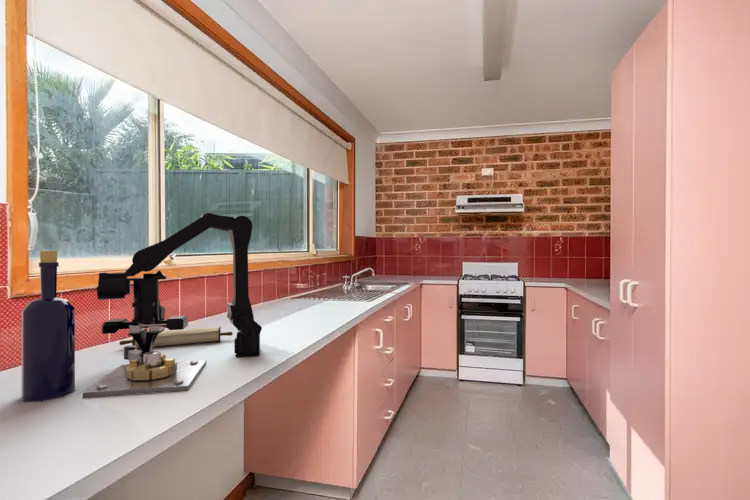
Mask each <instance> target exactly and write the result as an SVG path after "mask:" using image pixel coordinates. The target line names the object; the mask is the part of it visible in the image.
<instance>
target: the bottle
mask: <svg viewBox="0 0 750 500" xmlns="http://www.w3.org/2000/svg"><path fill="white" fill-rule="evenodd" d="M39 258H40V259H39V260H40V262H38V268H39V270H40V271H39V272H40V273H39V274H40V276H39V277H40V298H37V299H33V300H30V301H29V302H28V304H27V305H26V306H25V307H24V308H23V309H21V371H20V372H21V375H20V377H21V382H20V383H21V386H20V387H21V389H20V390H21V391H20V392H21V397H20V399H21V398H22V399H23V401H24V402H23V401H22V402H23V403H30V402H31V403H32V402H33V403H35V402H39V403H40V402H42V403H43V402H47V401H50V400H55V399H56V400H57V399H59V398H64V397H66V396H68V395H70V394H71V393H75V392H76V390H77V389H76V369H75V368H76V358H75V357H76V349H75V348H76V347H75V346H76V345H75V343H76V341H75V340H76V338H75V337H76V335H75V333H76V331H75V330H76V329H75V327H76V326H75V325H76V322H75V321H76V320H75V319H76V318H75V317H76V316H75V315H76V314H75V311H76V310H75V307H74V305H72V303H70V302H69V301H68V299H66V298H63V297H62V298H61V297H57V291H58V290H57V289H58V287H57V285H58V284H57V282H58V281H57V280H58V268H59V262H58V251H57V250H40V251H39ZM22 399H21V400H22Z"/></svg>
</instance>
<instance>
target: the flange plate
mask: <svg viewBox="0 0 750 500" xmlns="http://www.w3.org/2000/svg"><path fill="white" fill-rule="evenodd" d="M161 354H162V351H160V350H153V351H152V350H151V352H146V353H144V364H149V369H152V368H156V367H161ZM206 365H207V360H206V359H202V360H201V359H200V360H185V361H177V371H176V372H174V373H173V374H171V375H168V376H166V377H161V378H157V379H153V380H152V379H150V380H131V379H129V378H128V377H126V368H127V367H128V366H129V363H128V364H121V365H119V366H118V367H116V368H115V369H114V370H113V371H111V372H109V373H108V374H107V375H105V376H104V377H103V378H101V379H100V380H99V381H97V382H96V383H95V384H93V385H92V386H90V387H89V388H87V389H86V390H85V391H83V392H82V398H83V399H84V397H87V398H98V397H97V396H101V397H112V396H111V395H115V396H125V395H124V394H130V395H137V394H136V393H144V394H153V393H152V392H158V393H167V392H166V391H172V392H184V391H185V392H186V391H189V390H190V388H191V387H192V385H194V383H195V381H196V380H197V378H198V377H199V375H200V374H201V373H202V371H203V369H204V368H205V366H206ZM164 391H165V392H164ZM150 392H151V393H150Z"/></svg>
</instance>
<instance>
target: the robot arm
mask: <svg viewBox="0 0 750 500" xmlns="http://www.w3.org/2000/svg"><path fill="white" fill-rule="evenodd" d="M208 229H215V230H219V231H225V232H228V235H229V240H230V244H231V246H232V273H233V277H232V278H233V297H232V301H231V302H226V306H227V315H226V317H227V318H228V319H229V321H230V323H231V324H232V325H233V326H234V327H235V329H236V330H237V333H236V336H235V338H234V345H233V346H234V354H235V357H238V358H239V357H240V358H241V357H257V356H260V355H261V350H262V349H261V332H262V329H263V327H262V326H261V325H260V324H259V323H258V322H257V321H255V317H254V313H253V312H254V311H253V307H252V304H251V300H250V297H249V246H250V245H249V244H250V242H251V238H252V232H253V222H252V220H251V219H250V218H249V217H247V216H245V215H238V216H237V215H236V216H235V217H233V216H227V215H220V214H215V213H214V214H213V213H212V212H206V213H204V214H202V215H201V216H200V217H199V218H198V219H196V220H194V221H193V222H191V223H190V224H188V225H185V227H184V228H182V229H179V230H178V231H177V232H175V233H174V234H172V235H171V236H169V237H167V238H165V239H163V240H162V241H158V242H157V243H154V244H151V245H149V246H147V247H144V248H141V249H140V250H138V251H136V252H134V254H133V256H132V260H131V261H132V264H131V265H130V266H129V267H128V268H126V269H125V272H106V271H105V272H99V273H98V281H97V282H98V283H97V286H96V294H97V300H98V301H108V300H110V301H112V300H124V299H126V296H128V295H131V291H133V293H132V295H133V301H132V303H131V307H132V308H133V319H131V320H132V321H128V318H127V317H126V318H112V319H111V318H110V319H109V320H107V321H104V322H103V323H102V326H101V334H103V335H106V334H116V333H117V332H119V330H129V333H127V336H129V337H132V339H133V338H134V340H135V341H136V342H137V344H138V345H139V347H140V348H139V349H140V351H141V352H143V353H146V352H151V351H152V350H153V348H154V347H153V345H154V342H155V339H156V337H157V336H158V334H159V333H161V332H162V331H165V328H166V329H168V331H171V330H185V328H187V327H188V326H189V318H188V317H187V315H172V316H170V317H169V318H167V319H165V318H166V308H165V307H164V306H163V305H161V299H160V289H159V287H160V286H159V284H160V282H159V280H167V275H165V274H164V273H163V272H162V270H160V269H159V270H157V271H156V272H151V273H150V271H153V270H154V269H155V268H157V267H158V266H159V265H160V264H161V263H162V262H163V261H164V260H165V259H166V258H167V257H168V256H169V255H171V254H172V253H173V252H174V251H176V250H177V249H179V248H181V247H183V245H185V244H187V243H188V242H190V241H192V240H193V239H195V238H196V237H198V236H200V235H201V234H202V233H204V232H205V231H207V230H208ZM142 272H145V273H143V275H142V276H143V277H135V276H136V275H138V274H140V273H142ZM146 272H149V273H146ZM131 282H132V288H133V289H132V290H131Z"/></svg>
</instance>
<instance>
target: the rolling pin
mask: <svg viewBox="0 0 750 500" xmlns="http://www.w3.org/2000/svg"><path fill="white" fill-rule="evenodd" d="M233 334H234V333H233V332H232V331H226V332H221V326H217V327H216V326H215V327H202V328H187V329H185V328H184V329H181V330H164V331H162V332H161V333H159V334H158V336H157V337H156V339H155V342H154V345H153V347H152V348H154V347H165V346H166V347H167V346H174V345H175V346H176V345H186V344H200V343H201V344H202V343H210V342H212V343H213V342H220V343H221V336H233ZM118 344H119V345H120V346H124V345H129V344H131V345H135V346H136V349H140V347H139V345H138V344H137V342H136V341H135V340H134V338H133V337H132V339H129V340H121V341H119V343H118Z"/></svg>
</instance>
